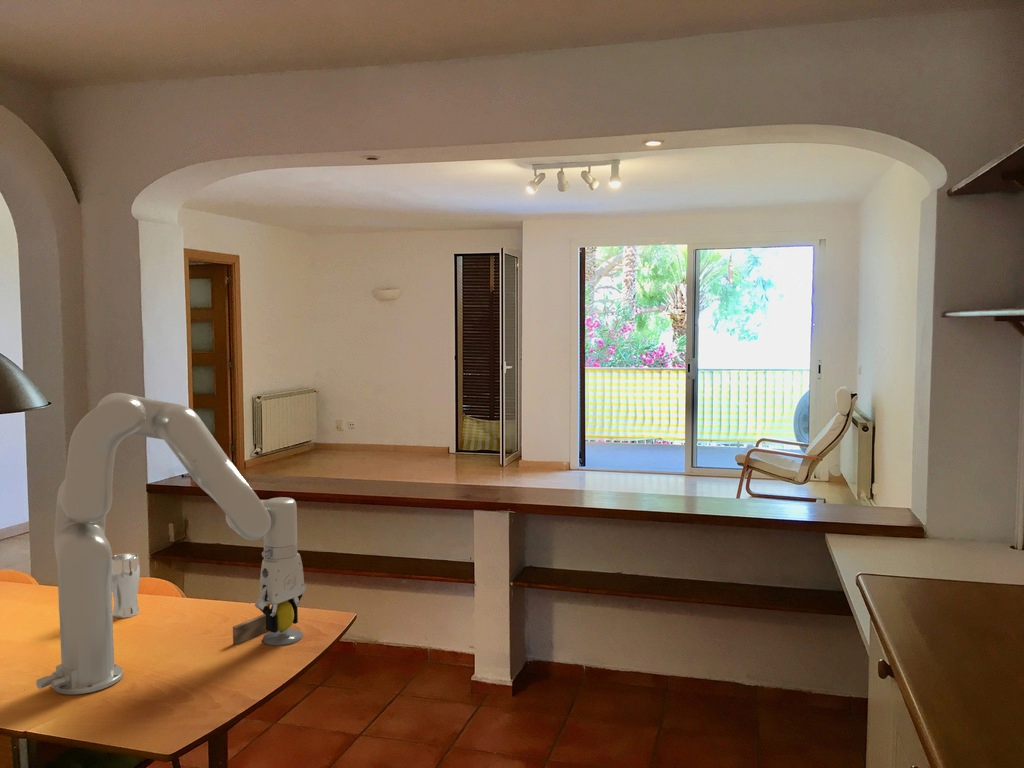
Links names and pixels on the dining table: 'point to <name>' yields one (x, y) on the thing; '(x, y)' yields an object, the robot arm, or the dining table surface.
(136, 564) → the beer glass
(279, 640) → the coaster
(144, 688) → the dining table surface
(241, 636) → the walnut wall
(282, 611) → the lemon
